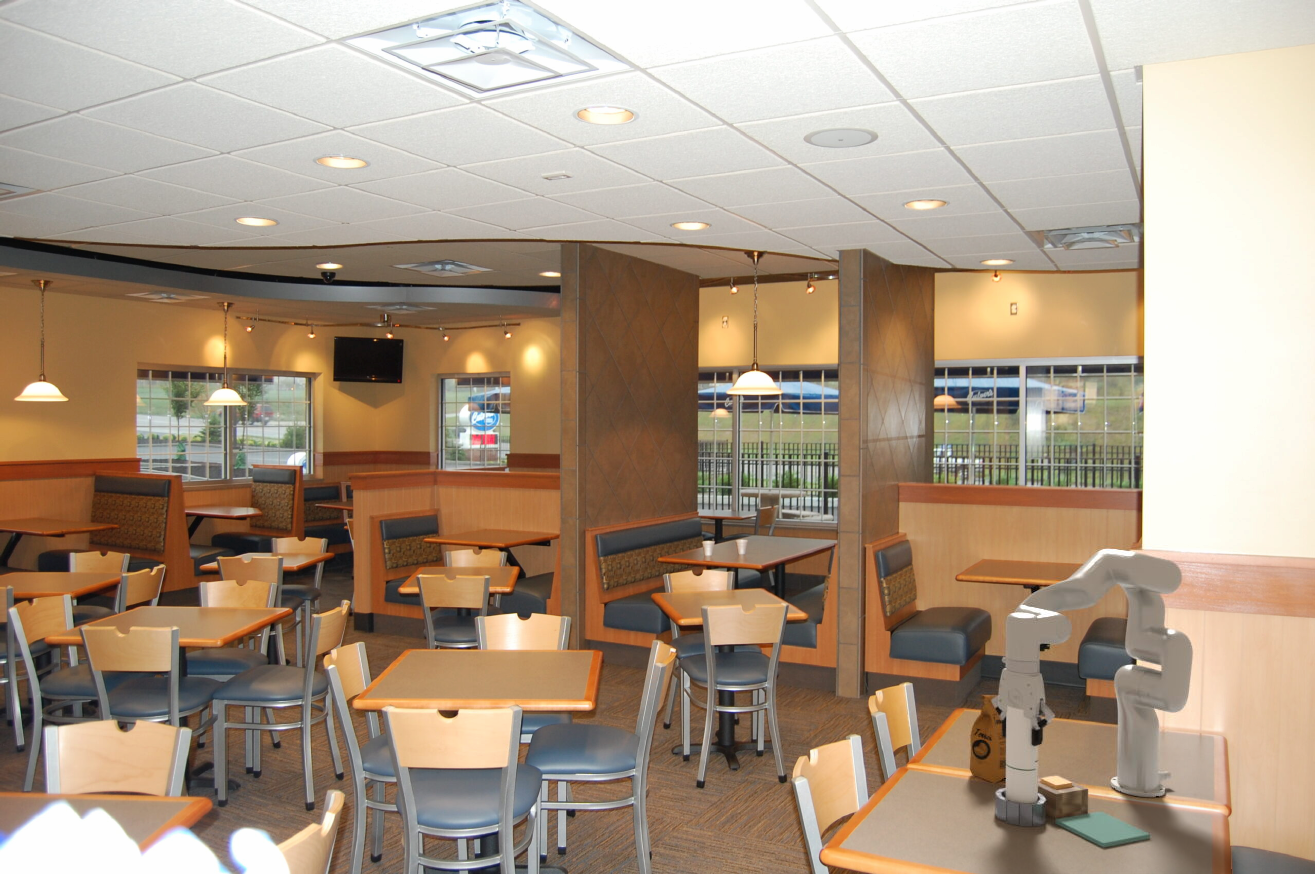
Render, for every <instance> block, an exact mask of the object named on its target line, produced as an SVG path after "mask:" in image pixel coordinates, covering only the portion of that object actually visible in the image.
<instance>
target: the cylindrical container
mask: <svg viewBox="0 0 1315 874" xmlns="http://www.w3.org/2000/svg"><path fill="white" fill-rule="evenodd" d="M1036 719H1037V717H1036ZM1033 728H1034V726H1033V723H1032V721H1031V718H1026V717H1025V716H1024V710H1022V709H1019V708H1015V707H1011V706H1007V712H1006V779H1005V788H1006V799H1008V800H1011V801H1015V802H1019V803H1035V802H1038V778H1039V745H1037V746H1033V745H1032V729H1033Z"/></svg>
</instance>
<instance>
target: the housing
mask: <svg viewBox="0 0 1315 874" xmlns="http://www.w3.org/2000/svg"><path fill="white" fill-rule="evenodd" d="M1052 776H1058V777H1061V778H1063V779H1065V780H1067V781H1070V782H1072V788H1066V789H1060V790H1055V789H1053V788H1051V787H1048V786H1046V785H1044V784H1042V783H1041V778H1046V777H1052ZM1038 793H1039V794H1041V795H1043V796H1044V797H1045V799H1046V816H1048V817H1049V818H1052V819H1054V820H1056V819H1061V818H1067V817H1072V816H1078V815H1084V814H1089V788H1088V787H1086V786H1083V785H1080V784H1079V783H1076V782H1074V781H1072V780H1069V779H1067V778H1065V777H1063V776H1061V775H1058V774H1054V775H1048V776H1043V777H1038Z"/></svg>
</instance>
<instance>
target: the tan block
mask: <svg viewBox="0 0 1315 874" xmlns="http://www.w3.org/2000/svg"><path fill="white" fill-rule="evenodd" d="M1051 776H1052V777H1047V776H1045V777H1046V778H1041V777H1040V778H1041V783H1042V784H1044V785H1046V786H1048V787H1051V788H1053V789H1055V790H1060V789H1066V788H1072V782H1073V781H1072V782H1070V781H1071V780H1070V781H1067V780H1068V779H1067V780H1065V779H1066V778H1065V779H1063V778H1064V777H1063V778H1061V777H1062V776H1060V777H1058V776H1059V775H1058V776H1053V775H1051Z"/></svg>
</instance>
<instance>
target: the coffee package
mask: <svg viewBox="0 0 1315 874" xmlns="http://www.w3.org/2000/svg"><path fill="white" fill-rule="evenodd" d="M996 696H997V695H995V694H994V695H993V694H992V695H991V694H990V695H989V694H987V695H985V694H982V695H981V697H980V700H981V701H983V703H984V705H982V706H981V707H982V708H981V710H980V713H979V715H978V716H977V717H976V720H974V722H973V725H972V727H971V731H970V737H969V738H970V754H969V755H970V756H969V757H970V758H969V759H970V760H969V772H970V773H971V775H972V776H973V777H978V778H979V779H981V780H984V781H987V782H990V783H993V784H997V783H998V782H1001V781H1002V779H1003V780H1005V779H1004V778H1006V737H1003V736H1002V720H1001V719H1000V715H999V714H998V713H997V711H996V708H995V707H994V705H993V703H992V701H991V700H992V699H993V698H994V697H996Z"/></svg>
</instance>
